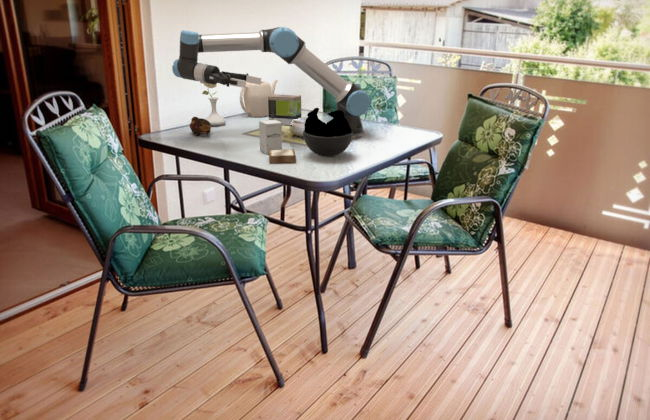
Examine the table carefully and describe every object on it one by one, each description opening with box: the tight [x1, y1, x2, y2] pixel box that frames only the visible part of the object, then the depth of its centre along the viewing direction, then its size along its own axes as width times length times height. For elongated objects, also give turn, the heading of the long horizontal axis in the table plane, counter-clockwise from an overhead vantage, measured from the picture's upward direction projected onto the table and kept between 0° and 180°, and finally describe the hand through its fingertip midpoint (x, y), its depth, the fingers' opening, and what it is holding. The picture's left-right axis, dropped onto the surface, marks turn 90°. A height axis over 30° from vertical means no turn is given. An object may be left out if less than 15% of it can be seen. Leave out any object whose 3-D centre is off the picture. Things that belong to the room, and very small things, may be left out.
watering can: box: [239, 79, 278, 118], centre depth 280 cm, size 16×27×19 cm, turn 135°
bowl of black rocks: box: [302, 107, 354, 158], centre depth 199 cm, size 20×20×19 cm
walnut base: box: [268, 148, 297, 165], centre depth 195 cm, size 10×10×3 cm
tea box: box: [268, 93, 302, 126], centre depth 260 cm, size 15×10×15 cm, turn 71°
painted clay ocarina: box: [189, 116, 212, 137], centre depth 234 cm, size 10×15×8 cm, turn 45°
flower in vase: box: [201, 82, 227, 127], centre depth 253 cm, size 13×11×25 cm
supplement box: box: [258, 119, 283, 155], centre depth 206 cm, size 7×7×13 cm
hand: (253, 82), depth 202 cm, fingers open, 13 cm apart
